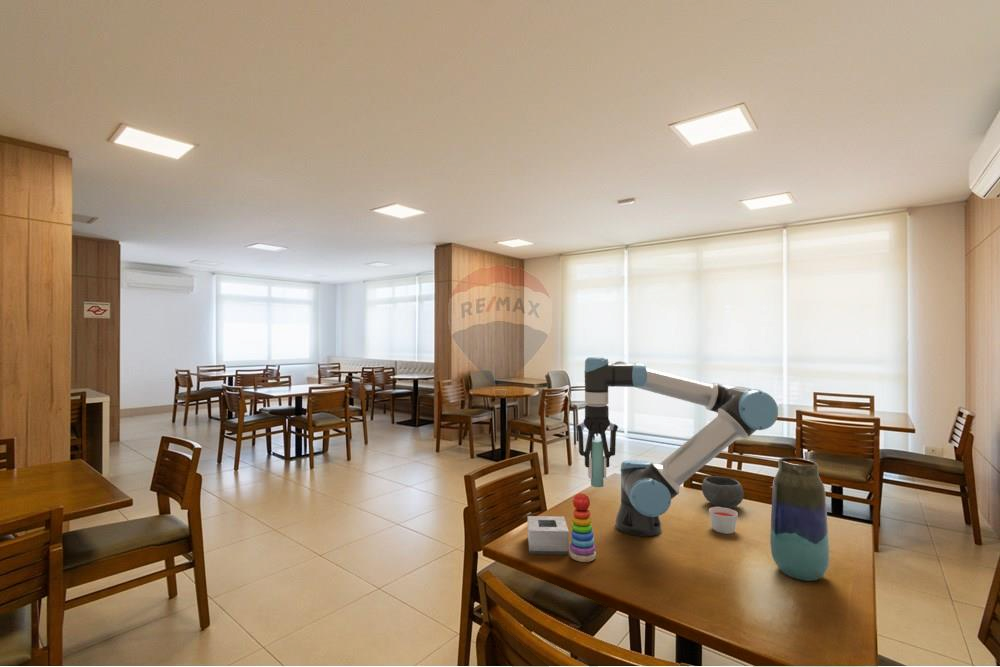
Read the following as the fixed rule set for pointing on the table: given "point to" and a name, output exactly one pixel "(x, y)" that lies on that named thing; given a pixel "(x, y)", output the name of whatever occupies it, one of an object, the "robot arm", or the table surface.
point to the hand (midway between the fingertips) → (597, 477)
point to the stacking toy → (582, 531)
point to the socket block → (548, 535)
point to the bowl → (722, 491)
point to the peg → (597, 463)
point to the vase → (799, 520)
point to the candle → (723, 519)
